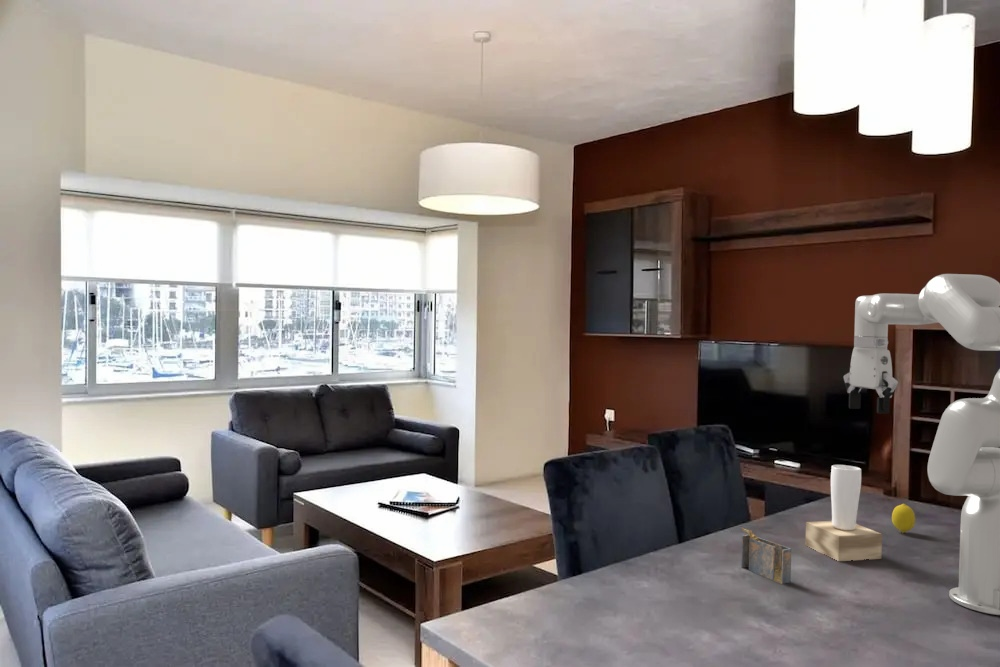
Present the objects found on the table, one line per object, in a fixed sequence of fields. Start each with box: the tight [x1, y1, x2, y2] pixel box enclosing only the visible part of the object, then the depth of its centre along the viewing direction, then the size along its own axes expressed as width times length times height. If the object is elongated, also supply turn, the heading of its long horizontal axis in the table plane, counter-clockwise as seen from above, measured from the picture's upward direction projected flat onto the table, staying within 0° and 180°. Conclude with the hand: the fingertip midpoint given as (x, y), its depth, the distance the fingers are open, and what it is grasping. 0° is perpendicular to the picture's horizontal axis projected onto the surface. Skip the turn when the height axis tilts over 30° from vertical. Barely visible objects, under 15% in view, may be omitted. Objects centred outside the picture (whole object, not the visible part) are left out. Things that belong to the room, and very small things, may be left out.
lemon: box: [891, 503, 916, 534], centre depth 192 cm, size 6×6×8 cm
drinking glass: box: [830, 464, 862, 530], centre depth 173 cm, size 7×7×15 cm
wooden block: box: [804, 520, 883, 562], centre depth 173 cm, size 12×12×6 cm
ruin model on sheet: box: [740, 527, 792, 585], centre depth 156 cm, size 11×3×10 cm, turn 29°
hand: (868, 411), depth 179 cm, fingers open, 9 cm apart
